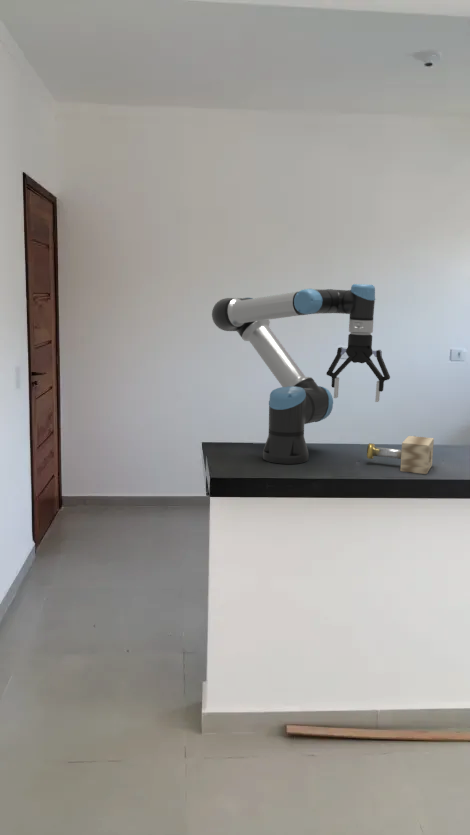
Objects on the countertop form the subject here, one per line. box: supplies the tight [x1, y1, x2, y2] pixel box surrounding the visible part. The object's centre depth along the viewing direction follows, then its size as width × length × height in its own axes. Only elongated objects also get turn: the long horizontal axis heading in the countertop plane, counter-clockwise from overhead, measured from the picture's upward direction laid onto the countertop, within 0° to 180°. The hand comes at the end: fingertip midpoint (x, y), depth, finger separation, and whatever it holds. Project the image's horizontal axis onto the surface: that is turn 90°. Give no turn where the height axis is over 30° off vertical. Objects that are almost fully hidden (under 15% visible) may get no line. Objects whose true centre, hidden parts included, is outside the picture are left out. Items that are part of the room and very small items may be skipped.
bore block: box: [400, 435, 435, 475], centre depth 220 cm, size 8×12×9 cm, turn 157°
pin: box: [366, 442, 402, 460], centre depth 223 cm, size 14×5×5 cm, turn 67°
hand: (356, 399), depth 225 cm, fingers open, 13 cm apart
